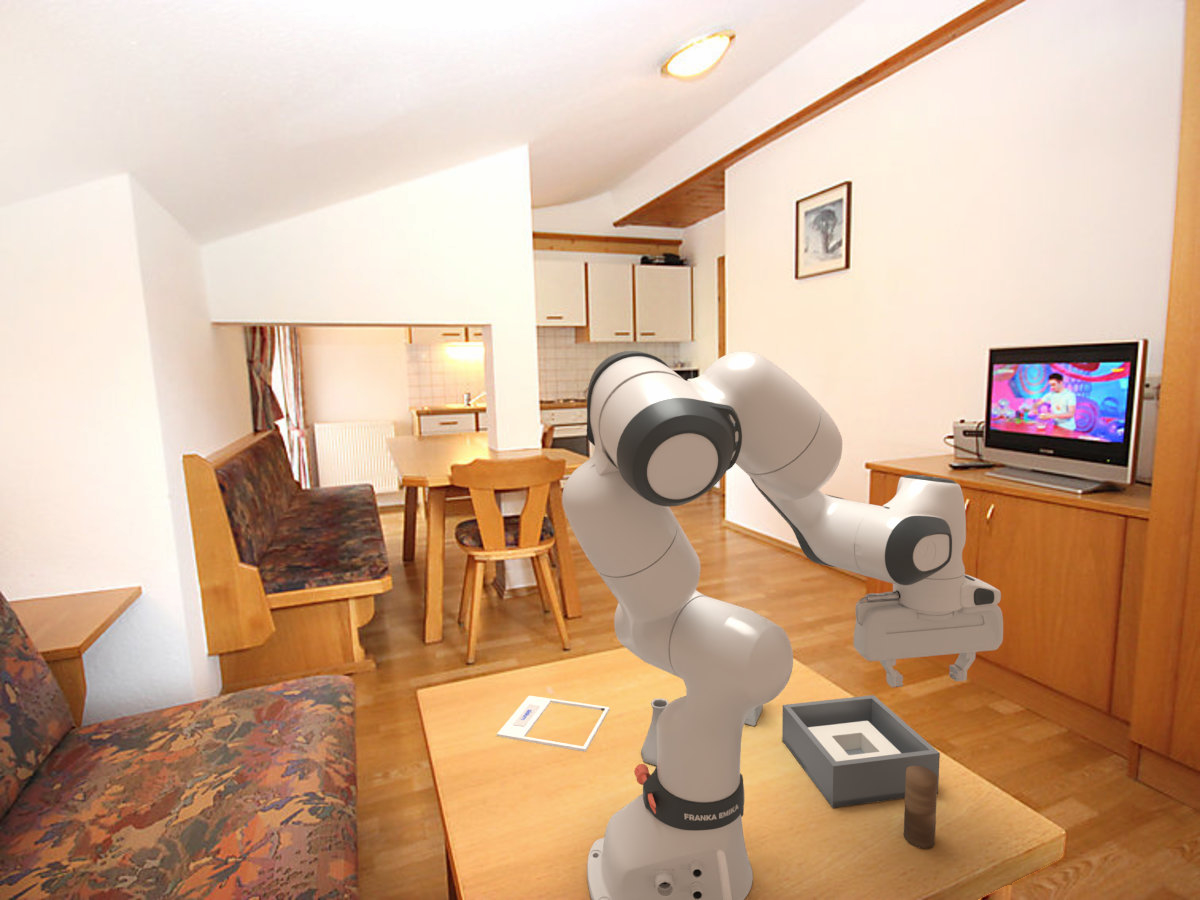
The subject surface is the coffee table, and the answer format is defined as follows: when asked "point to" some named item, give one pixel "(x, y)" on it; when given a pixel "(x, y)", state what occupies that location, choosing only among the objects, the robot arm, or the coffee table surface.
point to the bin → (855, 749)
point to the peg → (920, 807)
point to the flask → (653, 733)
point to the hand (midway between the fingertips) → (926, 682)
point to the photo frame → (530, 714)
